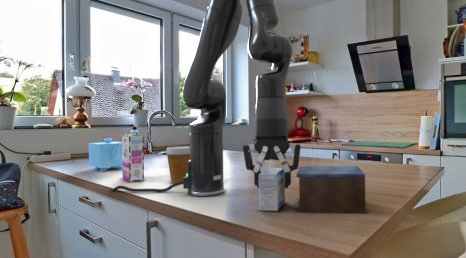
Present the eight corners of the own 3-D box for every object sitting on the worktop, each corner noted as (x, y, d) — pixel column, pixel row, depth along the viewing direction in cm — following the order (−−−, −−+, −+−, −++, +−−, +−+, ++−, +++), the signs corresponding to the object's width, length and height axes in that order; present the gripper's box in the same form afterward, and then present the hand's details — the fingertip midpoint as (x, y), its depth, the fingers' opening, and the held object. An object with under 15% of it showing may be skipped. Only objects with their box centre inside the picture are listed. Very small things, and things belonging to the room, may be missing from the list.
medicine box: (277, 212, 67) (277, 173, 66) (258, 211, 67) (258, 173, 67) (285, 202, 74) (284, 168, 74) (268, 201, 75) (267, 167, 75)
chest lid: (296, 177, 66) (296, 173, 66) (299, 169, 78) (299, 166, 78) (365, 177, 65) (365, 173, 65) (357, 169, 77) (357, 166, 77)
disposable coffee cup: (162, 181, 103) (162, 147, 102) (190, 178, 109) (189, 145, 108) (170, 186, 95) (169, 149, 95) (199, 182, 101) (198, 147, 101)
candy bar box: (145, 180, 105) (144, 134, 105) (129, 182, 102) (128, 135, 101) (136, 176, 113) (135, 133, 113) (122, 178, 110) (120, 134, 110)
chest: (299, 211, 66) (299, 177, 66) (301, 198, 78) (301, 169, 78) (365, 212, 65) (365, 177, 65) (357, 199, 77) (357, 169, 77)
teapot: (87, 168, 134) (86, 138, 134) (113, 165, 143) (113, 137, 142) (106, 173, 120) (105, 140, 120) (134, 170, 129) (133, 138, 129)
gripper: (302, 117, 73) (303, 184, 74) (245, 118, 75) (246, 184, 75) (300, 116, 66) (302, 191, 66) (237, 117, 67) (239, 191, 68)
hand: (272, 187), depth 71 cm, fingers open, 6 cm apart
